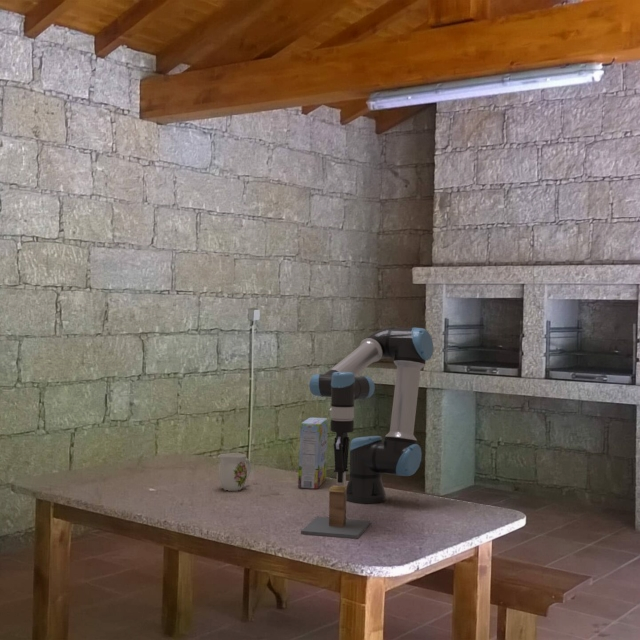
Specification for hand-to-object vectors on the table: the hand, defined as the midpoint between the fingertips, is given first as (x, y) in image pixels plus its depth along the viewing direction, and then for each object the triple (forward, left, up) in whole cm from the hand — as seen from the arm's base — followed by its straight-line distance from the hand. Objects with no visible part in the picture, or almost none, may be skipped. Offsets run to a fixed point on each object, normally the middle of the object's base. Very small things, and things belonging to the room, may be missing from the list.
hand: (340, 491), depth 281 cm
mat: (+5, 0, -11) cm, 12 cm away
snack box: (-62, -26, -11) cm, 68 cm away
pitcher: (-42, -52, -11) cm, 68 cm away
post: (+5, 0, -10) cm, 11 cm away
